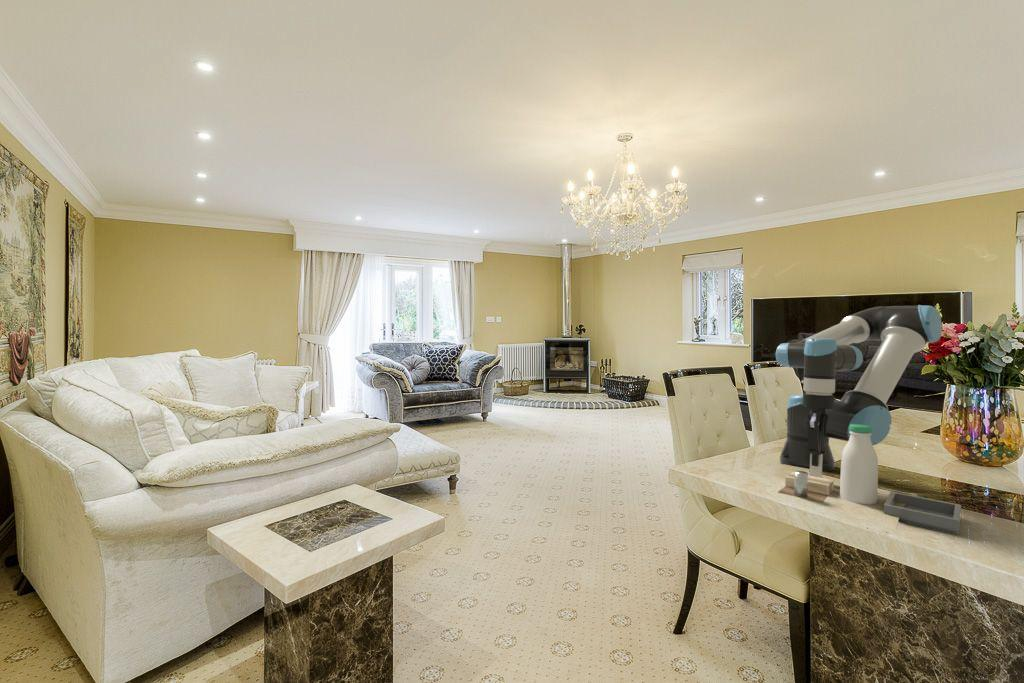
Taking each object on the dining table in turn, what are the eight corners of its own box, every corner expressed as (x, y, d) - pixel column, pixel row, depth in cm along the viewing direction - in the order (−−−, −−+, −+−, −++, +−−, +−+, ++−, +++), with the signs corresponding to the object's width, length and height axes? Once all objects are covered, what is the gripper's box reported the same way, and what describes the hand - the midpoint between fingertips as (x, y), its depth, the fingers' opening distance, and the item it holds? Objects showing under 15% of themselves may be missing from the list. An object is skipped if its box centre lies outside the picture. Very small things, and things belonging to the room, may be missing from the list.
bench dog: (795, 492, 127) (796, 470, 127) (808, 495, 125) (809, 472, 125) (792, 495, 125) (793, 472, 125) (805, 498, 123) (806, 475, 123)
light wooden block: (791, 481, 137) (791, 472, 137) (833, 489, 130) (833, 480, 130) (785, 486, 133) (785, 476, 133) (828, 495, 126) (828, 485, 126)
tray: (890, 503, 123) (891, 491, 123) (960, 518, 114) (960, 504, 114) (883, 518, 114) (883, 504, 114) (958, 535, 105) (959, 520, 105)
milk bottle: (883, 510, 119) (886, 429, 118) (848, 507, 120) (850, 427, 120) (867, 499, 126) (869, 422, 126) (834, 496, 128) (836, 421, 127)
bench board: (791, 484, 137) (792, 480, 137) (833, 493, 130) (833, 489, 130) (777, 496, 128) (777, 492, 128) (821, 506, 121) (821, 502, 121)
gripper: (809, 389, 143) (806, 469, 144) (797, 393, 134) (794, 478, 135) (839, 392, 138) (836, 474, 139) (828, 396, 129) (825, 485, 129)
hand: (815, 476), depth 137 cm, fingers closed
